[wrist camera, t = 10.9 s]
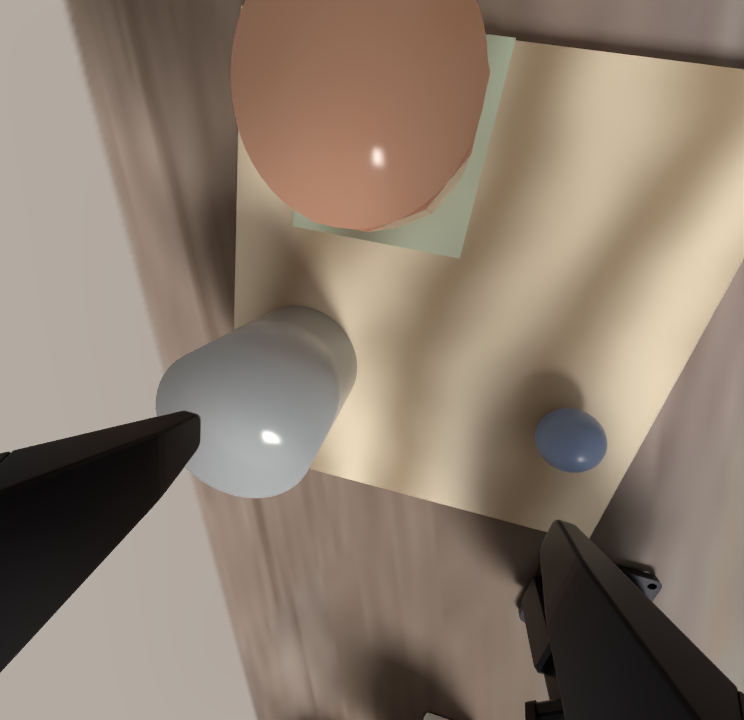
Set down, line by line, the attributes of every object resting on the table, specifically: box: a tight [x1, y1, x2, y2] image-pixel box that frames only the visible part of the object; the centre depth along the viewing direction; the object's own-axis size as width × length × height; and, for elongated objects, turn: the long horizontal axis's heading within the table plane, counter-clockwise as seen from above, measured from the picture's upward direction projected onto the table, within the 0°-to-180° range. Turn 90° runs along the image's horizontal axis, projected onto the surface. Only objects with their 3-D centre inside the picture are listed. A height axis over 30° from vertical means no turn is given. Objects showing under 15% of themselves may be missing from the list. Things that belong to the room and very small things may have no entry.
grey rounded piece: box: [156, 305, 357, 498], centre depth 17 cm, size 6×6×7 cm
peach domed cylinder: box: [230, 0, 490, 232], centre depth 12 cm, size 6×6×7 cm
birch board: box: [234, 6, 744, 538], centre depth 18 cm, size 22×22×1 cm
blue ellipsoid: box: [535, 408, 607, 473], centre depth 17 cm, size 3×3×3 cm
